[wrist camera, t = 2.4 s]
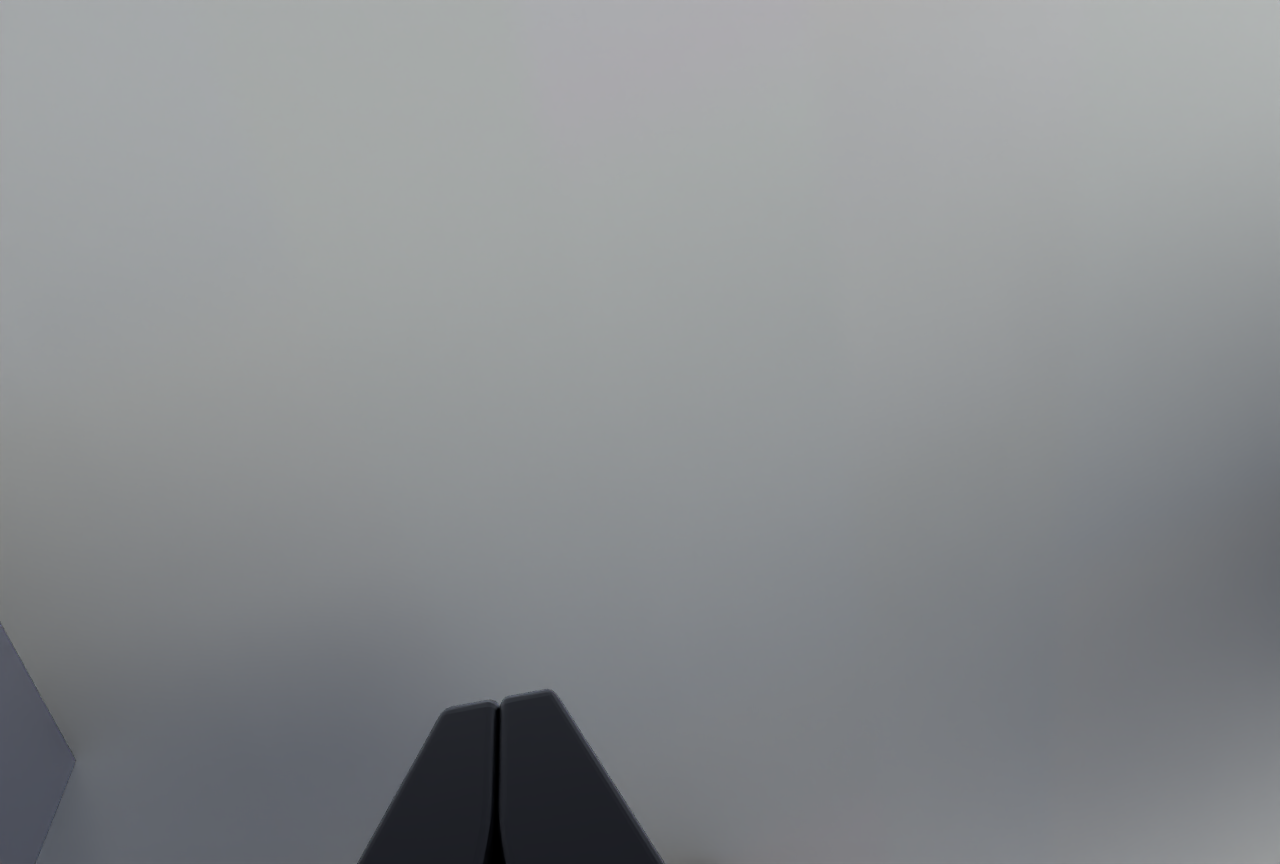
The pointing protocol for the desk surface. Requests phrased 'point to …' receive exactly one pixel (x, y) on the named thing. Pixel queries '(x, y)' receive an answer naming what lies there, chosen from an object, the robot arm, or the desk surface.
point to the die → (27, 762)
